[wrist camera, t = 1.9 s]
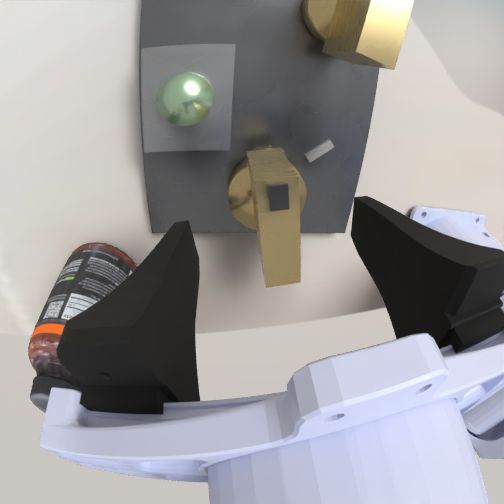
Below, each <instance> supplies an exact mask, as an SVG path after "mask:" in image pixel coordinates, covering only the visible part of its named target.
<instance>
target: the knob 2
mask: <svg viewBox="0 0 504 504" xmlns="http://www.w3.org/2000/svg"><path fill="white" fill-rule="evenodd" d="M412 5H413V0H304V1H303V8H302V11H303V17H304V21H305V23H306V25H307V27H308V29H309V30H310V31H311V33H312V34H313V35H314V36H315V37H316V38H317V39H318V40H320V41H321V42H322V43H324V47H323V50H322V52H323V53H326V54H328V55H331V56H334V57H336V58H339V59H342V60H344V61H347V62H349V63H351V64H355V65H364V66H372V67H379V68H386V69H392V70H394V69H395V65H396V62H397V59H398V56H399V52H400V49H401V46H402V42H403V39H404V35H405V31H406V28H407V24H408V20H409V17H410V13H411V9H412Z"/></svg>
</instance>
